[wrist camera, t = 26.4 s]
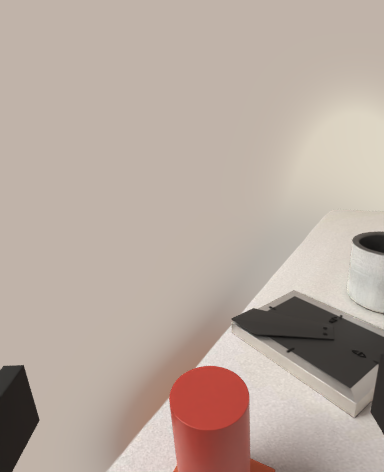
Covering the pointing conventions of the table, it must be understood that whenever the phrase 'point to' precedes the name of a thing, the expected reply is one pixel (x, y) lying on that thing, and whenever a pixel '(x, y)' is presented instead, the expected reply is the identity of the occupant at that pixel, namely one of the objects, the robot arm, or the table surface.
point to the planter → (367, 271)
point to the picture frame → (317, 347)
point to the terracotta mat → (252, 467)
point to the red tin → (211, 421)
